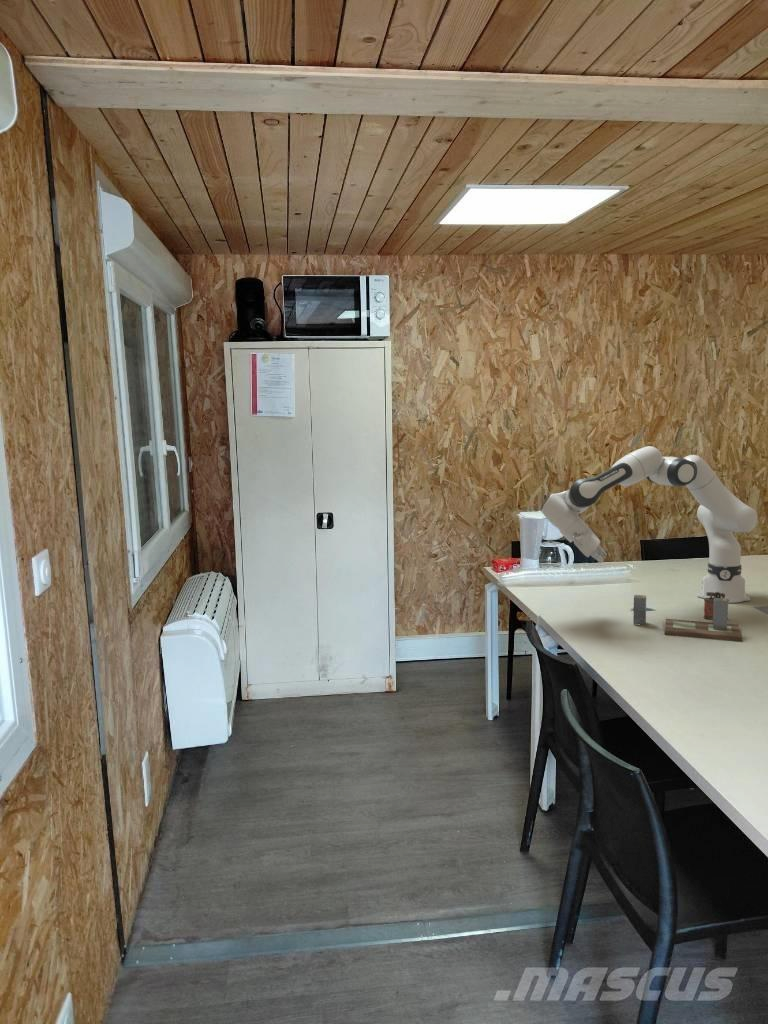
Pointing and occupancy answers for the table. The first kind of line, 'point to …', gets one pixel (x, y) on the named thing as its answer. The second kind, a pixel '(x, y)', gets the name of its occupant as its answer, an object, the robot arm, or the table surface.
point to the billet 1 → (639, 609)
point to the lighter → (711, 604)
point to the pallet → (701, 630)
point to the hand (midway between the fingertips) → (603, 559)
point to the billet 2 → (720, 614)
